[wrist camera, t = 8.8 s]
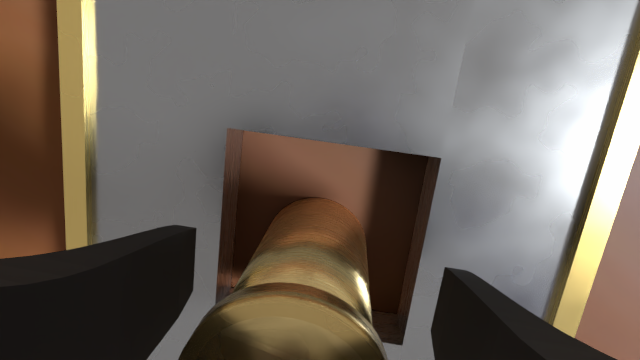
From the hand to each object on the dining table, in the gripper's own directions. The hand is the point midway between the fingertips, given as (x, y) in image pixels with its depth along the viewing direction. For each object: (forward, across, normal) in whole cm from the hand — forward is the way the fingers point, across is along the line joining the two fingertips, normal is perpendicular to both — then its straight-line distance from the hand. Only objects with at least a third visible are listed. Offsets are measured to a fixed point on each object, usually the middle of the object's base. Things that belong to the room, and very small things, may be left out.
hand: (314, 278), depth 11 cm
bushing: (+4, 0, +1) cm, 5 cm away
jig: (+4, 0, 0) cm, 5 cm away
